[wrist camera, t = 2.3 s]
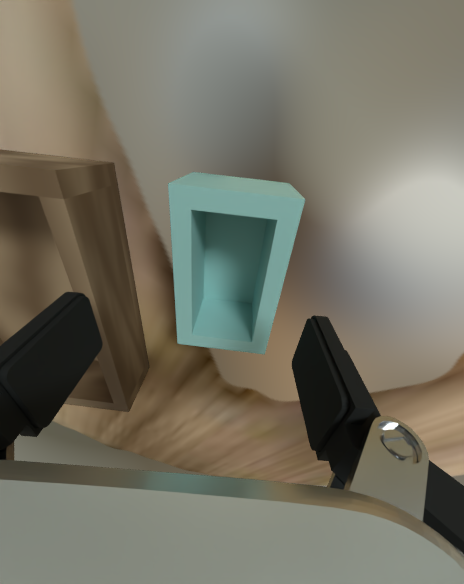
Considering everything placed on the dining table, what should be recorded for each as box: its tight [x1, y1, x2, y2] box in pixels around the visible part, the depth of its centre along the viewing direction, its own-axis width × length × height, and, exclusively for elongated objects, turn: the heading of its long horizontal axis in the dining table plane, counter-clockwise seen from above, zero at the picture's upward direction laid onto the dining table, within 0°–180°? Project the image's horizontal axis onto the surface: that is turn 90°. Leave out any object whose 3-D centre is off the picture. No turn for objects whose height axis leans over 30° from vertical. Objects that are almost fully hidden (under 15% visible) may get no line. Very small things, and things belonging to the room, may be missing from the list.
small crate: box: [168, 172, 305, 354], centre depth 15 cm, size 6×10×5 cm, turn 174°
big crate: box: [0, 150, 149, 412], centre depth 17 cm, size 16×20×5 cm
